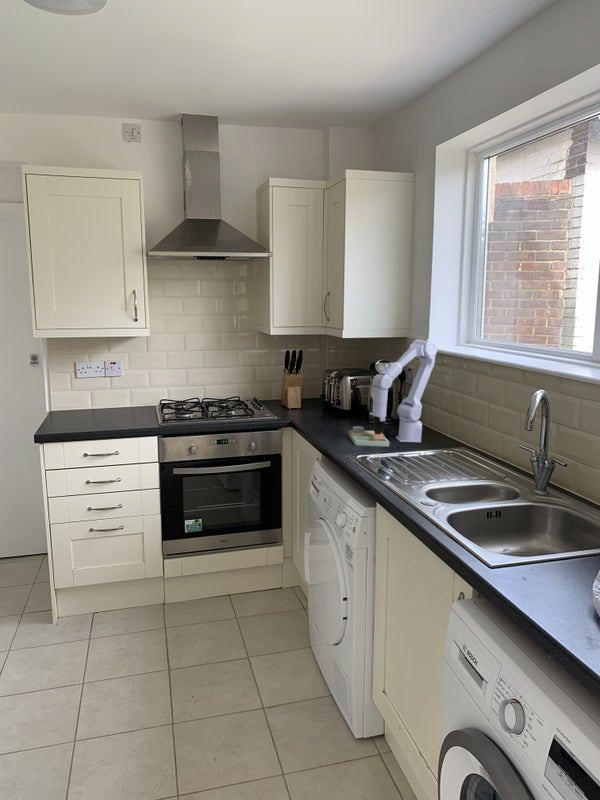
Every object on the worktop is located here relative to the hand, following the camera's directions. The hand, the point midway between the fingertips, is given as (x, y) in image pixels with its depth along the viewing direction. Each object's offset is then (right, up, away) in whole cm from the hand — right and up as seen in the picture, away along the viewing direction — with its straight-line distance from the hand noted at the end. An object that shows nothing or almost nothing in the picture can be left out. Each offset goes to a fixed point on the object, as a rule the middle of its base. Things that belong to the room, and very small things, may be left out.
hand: (377, 434), depth 258 cm
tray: (-3, -4, -3) cm, 6 cm away
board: (-4, -2, +6) cm, 8 cm away
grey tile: (-8, +1, +6) cm, 10 cm away
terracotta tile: (0, -3, -2) cm, 3 cm away
